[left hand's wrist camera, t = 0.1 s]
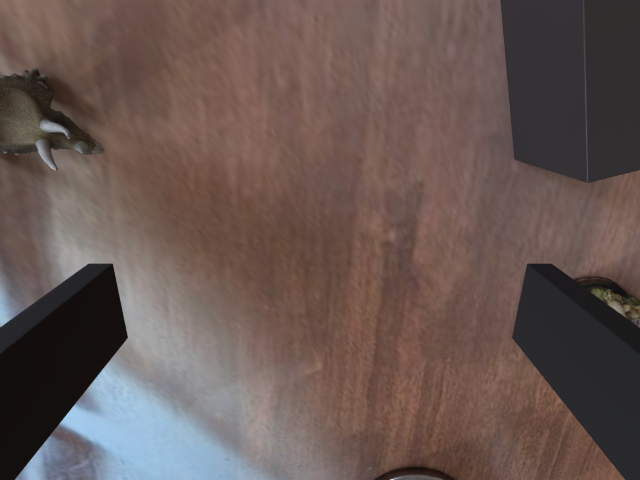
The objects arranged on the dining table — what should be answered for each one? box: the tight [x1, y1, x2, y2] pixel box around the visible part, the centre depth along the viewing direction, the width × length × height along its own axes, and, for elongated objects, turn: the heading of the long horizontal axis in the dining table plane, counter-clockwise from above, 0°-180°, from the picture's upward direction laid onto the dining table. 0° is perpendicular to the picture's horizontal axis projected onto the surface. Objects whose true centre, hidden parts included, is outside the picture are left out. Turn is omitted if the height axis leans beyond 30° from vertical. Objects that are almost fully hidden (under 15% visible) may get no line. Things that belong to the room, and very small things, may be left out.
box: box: [501, 0, 640, 183], centre depth 29 cm, size 21×8×11 cm, turn 15°
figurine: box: [575, 277, 640, 327], centre depth 38 cm, size 12×11×15 cm
